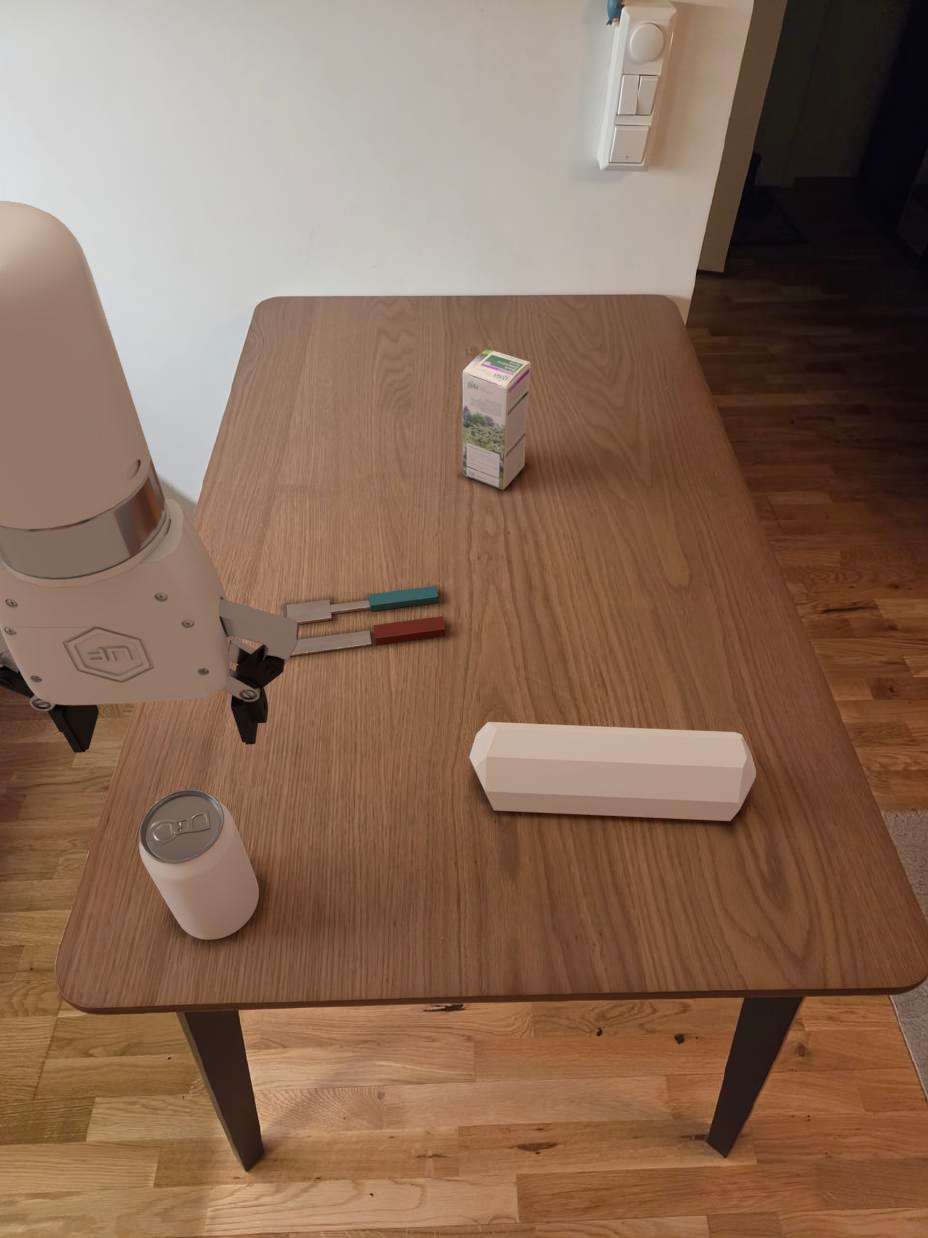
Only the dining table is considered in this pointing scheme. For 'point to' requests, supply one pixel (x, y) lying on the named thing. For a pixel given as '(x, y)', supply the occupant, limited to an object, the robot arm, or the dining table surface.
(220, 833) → the can
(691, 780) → the crystal
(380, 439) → the dining table surface
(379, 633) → the knife
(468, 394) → the syrup box
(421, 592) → the teal handled spatula
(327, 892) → the dining table surface
